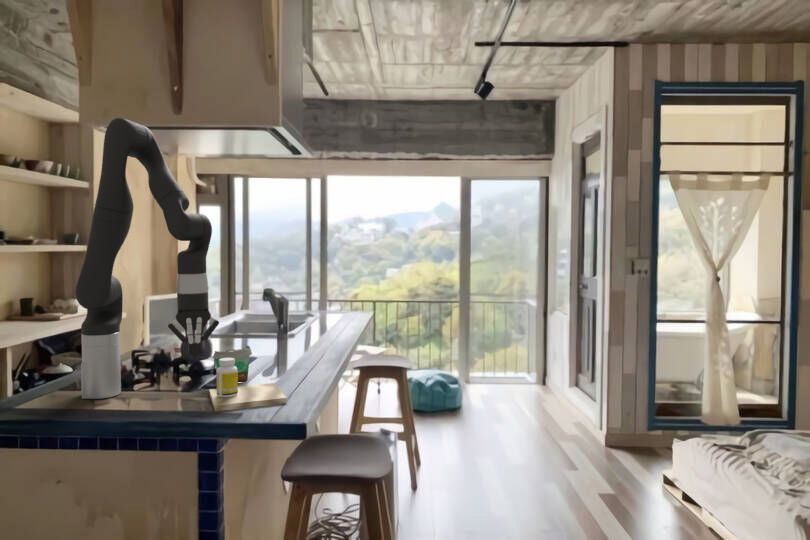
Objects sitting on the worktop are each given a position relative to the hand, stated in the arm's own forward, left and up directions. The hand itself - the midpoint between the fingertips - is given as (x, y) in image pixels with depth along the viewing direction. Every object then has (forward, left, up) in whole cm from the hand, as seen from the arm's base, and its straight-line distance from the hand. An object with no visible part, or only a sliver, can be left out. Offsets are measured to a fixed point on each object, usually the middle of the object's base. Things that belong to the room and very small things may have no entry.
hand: (194, 357), depth 145 cm
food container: (+13, +19, -13) cm, 26 cm away
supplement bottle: (+8, 0, -11) cm, 14 cm away
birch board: (+13, 0, -13) cm, 18 cm away
